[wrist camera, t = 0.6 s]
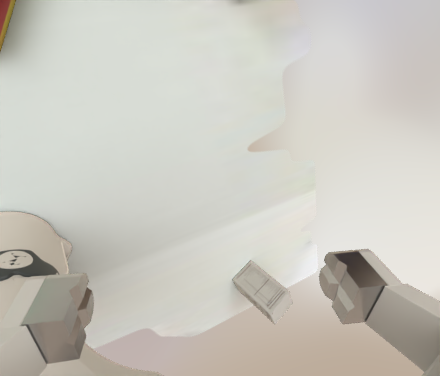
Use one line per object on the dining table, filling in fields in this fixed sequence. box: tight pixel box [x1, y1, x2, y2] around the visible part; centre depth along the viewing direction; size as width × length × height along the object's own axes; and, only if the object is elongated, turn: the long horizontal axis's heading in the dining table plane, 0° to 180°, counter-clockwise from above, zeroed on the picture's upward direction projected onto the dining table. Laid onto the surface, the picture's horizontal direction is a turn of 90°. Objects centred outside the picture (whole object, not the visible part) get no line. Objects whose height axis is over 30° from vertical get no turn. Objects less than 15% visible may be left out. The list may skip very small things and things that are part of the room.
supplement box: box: [232, 260, 293, 324], centre depth 85 cm, size 10×9×17 cm
